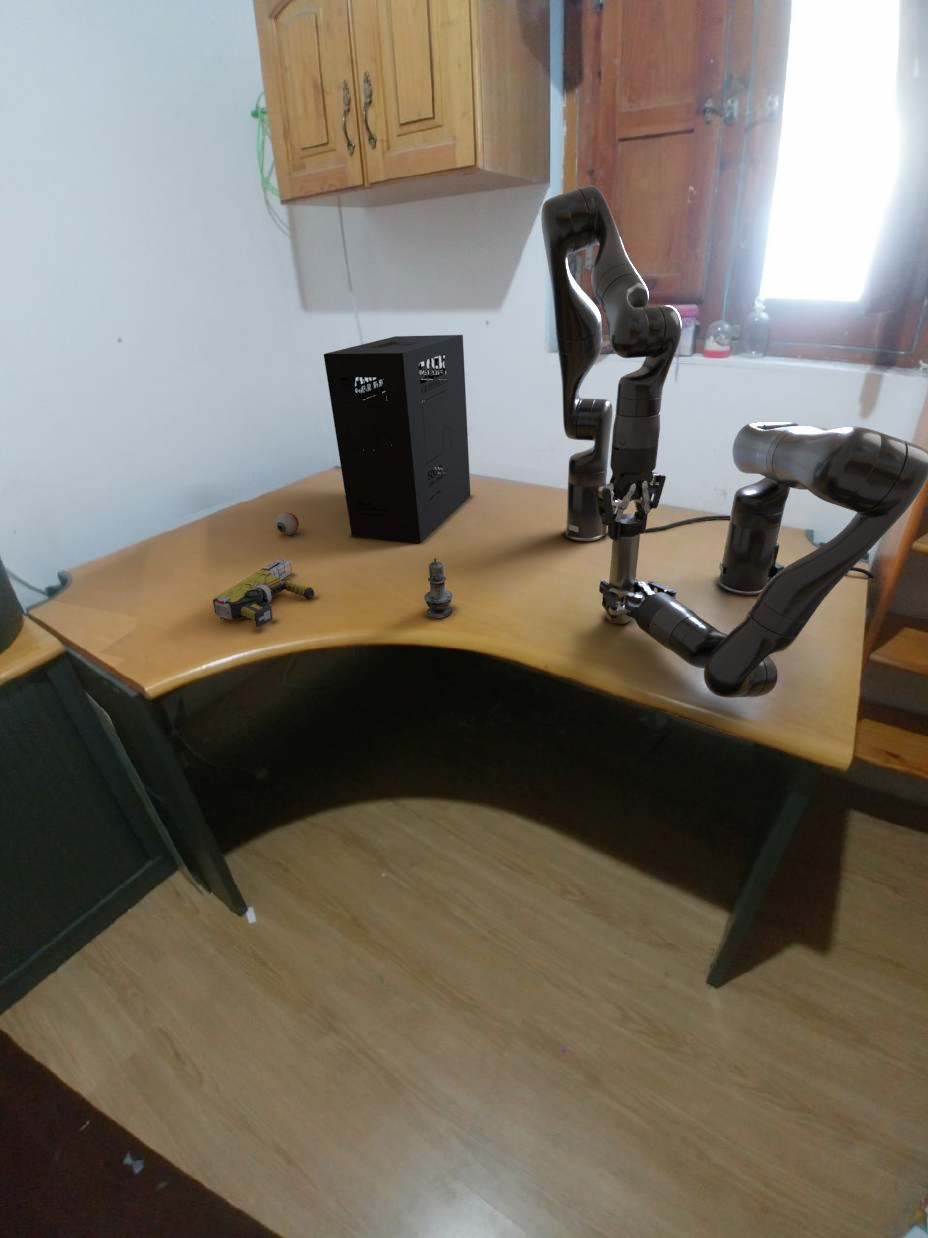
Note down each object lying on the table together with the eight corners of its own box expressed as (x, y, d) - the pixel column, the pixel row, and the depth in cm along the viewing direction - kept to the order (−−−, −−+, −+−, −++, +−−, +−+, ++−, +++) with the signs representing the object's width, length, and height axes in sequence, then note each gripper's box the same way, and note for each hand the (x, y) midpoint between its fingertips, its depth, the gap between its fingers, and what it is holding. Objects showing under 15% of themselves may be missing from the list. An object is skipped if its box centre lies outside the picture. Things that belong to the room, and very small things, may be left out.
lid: (610, 534, 107) (611, 522, 106) (613, 524, 111) (614, 512, 110) (641, 537, 106) (642, 524, 104) (642, 526, 110) (643, 514, 109)
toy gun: (334, 567, 137) (277, 555, 141) (271, 613, 117) (207, 598, 121) (335, 586, 139) (279, 574, 143) (273, 634, 119) (211, 619, 123)
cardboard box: (410, 491, 192) (395, 336, 169) (470, 495, 185) (462, 334, 162) (351, 535, 161) (323, 353, 139) (420, 542, 155) (402, 352, 132)
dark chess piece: (450, 619, 120) (446, 564, 114) (422, 617, 121) (416, 563, 115) (456, 605, 125) (453, 552, 119) (429, 603, 126) (424, 551, 120)
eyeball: (273, 537, 164) (268, 516, 161) (287, 528, 169) (282, 508, 166) (291, 539, 161) (286, 518, 158) (305, 530, 166) (301, 510, 163)
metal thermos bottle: (608, 610, 120) (616, 516, 110) (632, 613, 119) (643, 518, 109) (604, 621, 116) (612, 525, 107) (629, 625, 115) (639, 527, 105)
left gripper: (652, 430, 106) (642, 521, 115) (586, 443, 101) (581, 538, 109) (684, 438, 100) (671, 533, 109) (616, 452, 95) (608, 551, 103)
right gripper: (707, 594, 103) (646, 557, 117) (635, 612, 99) (581, 572, 113) (700, 632, 107) (642, 591, 120) (631, 651, 102) (580, 607, 116)
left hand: (626, 535), depth 109 cm, fingers closed on lid, 5 cm apart
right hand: (613, 582), depth 116 cm, fingers closed on metal thermos bottle, 4 cm apart
